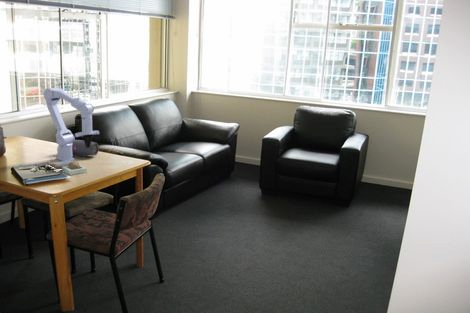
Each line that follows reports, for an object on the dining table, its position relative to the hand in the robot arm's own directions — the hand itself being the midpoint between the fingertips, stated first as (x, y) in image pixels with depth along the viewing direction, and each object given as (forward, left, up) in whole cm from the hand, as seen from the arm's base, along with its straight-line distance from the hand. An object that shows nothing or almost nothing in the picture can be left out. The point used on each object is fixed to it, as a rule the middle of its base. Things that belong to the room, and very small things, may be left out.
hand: (87, 147), depth 270 cm
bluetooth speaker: (-20, +5, -10) cm, 23 cm away
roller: (+10, -15, -9) cm, 20 cm away
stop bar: (0, -22, -10) cm, 24 cm away
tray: (+10, -15, -10) cm, 20 cm away
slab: (0, -14, -10) cm, 18 cm away
